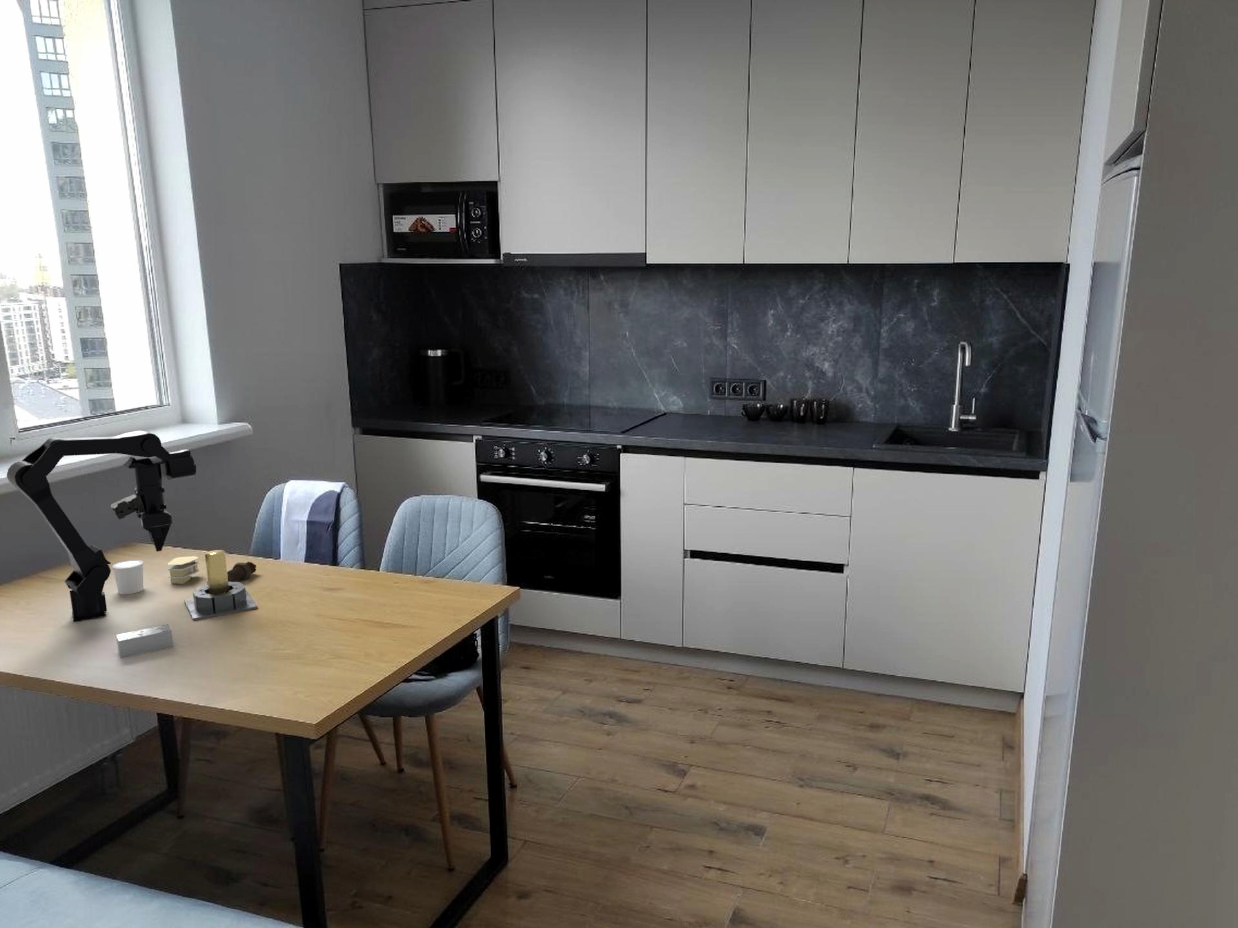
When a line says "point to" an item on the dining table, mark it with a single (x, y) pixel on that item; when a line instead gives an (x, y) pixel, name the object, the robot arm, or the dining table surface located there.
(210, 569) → the pale yellow tall bar
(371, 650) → the dining table surface
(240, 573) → the bolt
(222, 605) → the socket block
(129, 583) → the shot glass
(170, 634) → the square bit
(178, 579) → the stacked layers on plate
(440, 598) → the dining table surface
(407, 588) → the dining table surface
